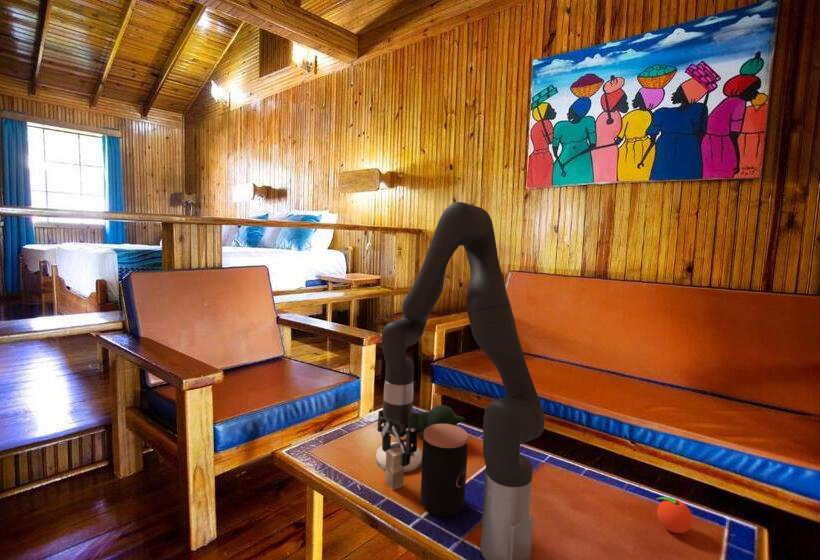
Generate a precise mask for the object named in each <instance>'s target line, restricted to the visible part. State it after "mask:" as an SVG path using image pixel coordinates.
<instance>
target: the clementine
mask: <svg viewBox="0 0 820 560" xmlns="http://www.w3.org/2000/svg"><path fill="white" fill-rule="evenodd" d="M658 500H662V501H661V502H659V504H658V506H657V510H656V511H657V513H656V514H657V518H658V520H659V522H660V524H662V526H663V528H665V529H666V530H668V531H669V532H672V533H674V534H684V533H686V532H688V531H689V530H690V529H691V528H692V527H693V524H694V523H693V520H694V517H693V515H692V512H691V510H690V509H689V507H688V506H687V505H686V504H685V503H684V502H683V501H680V500H679V499H676V498H672V497H668V496H667V497H666V496H661V497H658V498H655V501H658Z"/></svg>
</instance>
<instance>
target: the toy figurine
mask: <svg viewBox="0 0 820 560" xmlns="http://www.w3.org/2000/svg"><path fill="white" fill-rule="evenodd" d="M417 384H418V383H417V381H415V380H414V379H413V387H417V386H418V385H417ZM465 420H466V418H465V417H463V416H460V415H458V414H456V412H455V411H454V409H453V408H451V407H450V406H448V405H444V404H439V405H436V406H434V407H432V408H431V409H430V411H424V412H421V413H420V412H413V411H412V416H411V417H410V419H409V427H410V428H416V429H417V434H419V433H420V437H421V438H422V439H424V430H425V429H426V428H427V427H428V426H430V425H434V424H451V425H455V426H457V425H458V424H460V423H462V422H465Z"/></svg>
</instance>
